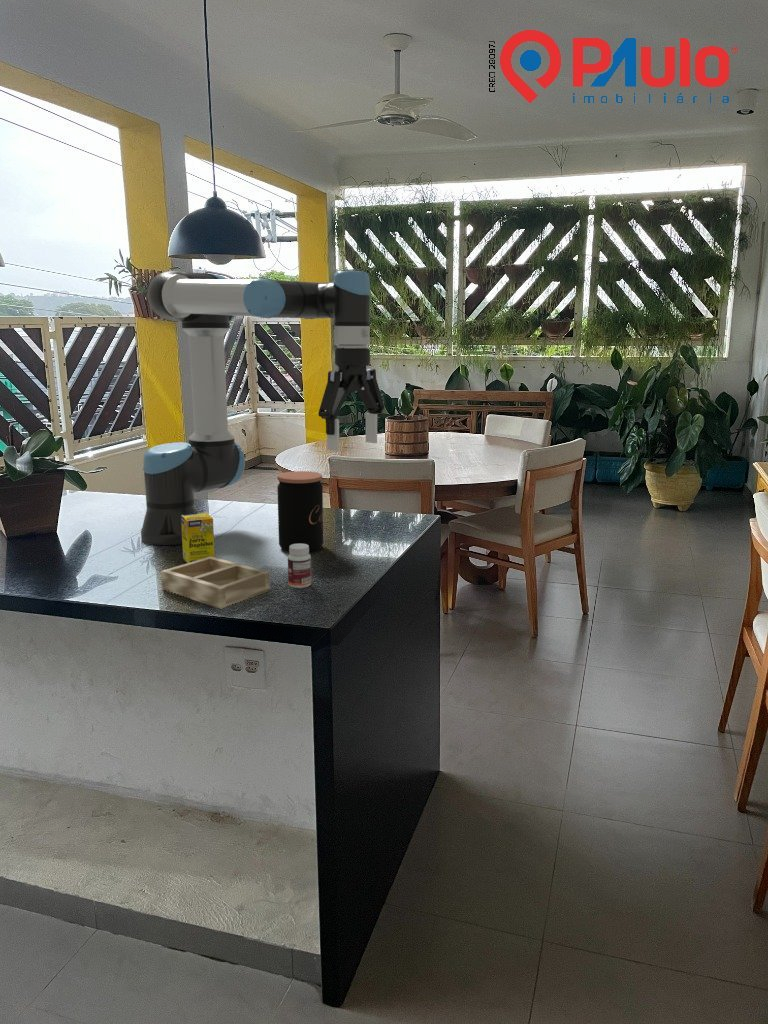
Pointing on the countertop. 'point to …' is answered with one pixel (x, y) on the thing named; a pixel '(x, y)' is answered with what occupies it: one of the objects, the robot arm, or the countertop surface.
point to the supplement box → (197, 537)
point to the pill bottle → (299, 566)
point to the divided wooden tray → (215, 581)
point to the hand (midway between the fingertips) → (352, 446)
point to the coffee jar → (300, 509)
